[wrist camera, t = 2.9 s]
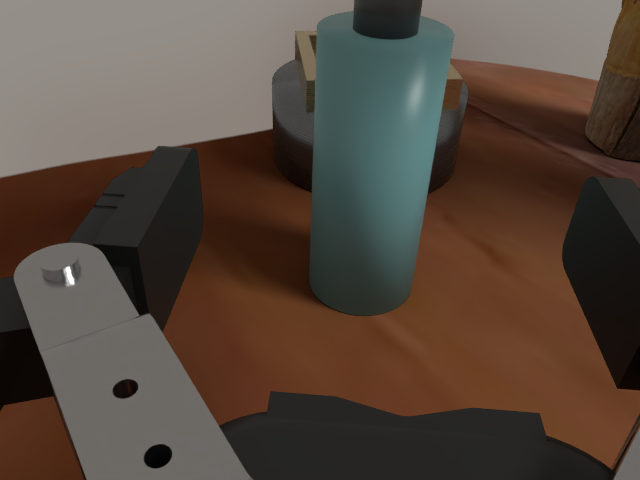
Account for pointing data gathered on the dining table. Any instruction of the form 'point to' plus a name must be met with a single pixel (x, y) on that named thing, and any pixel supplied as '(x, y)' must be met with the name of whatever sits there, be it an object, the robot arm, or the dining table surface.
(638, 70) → the sculpture
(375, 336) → the dining table surface
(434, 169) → the disc with square collar
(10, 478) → the dining table surface
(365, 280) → the bottle
